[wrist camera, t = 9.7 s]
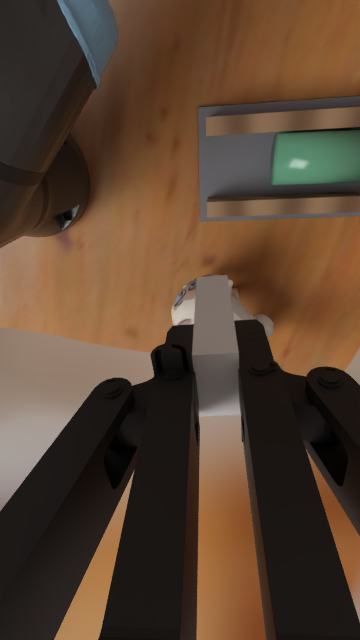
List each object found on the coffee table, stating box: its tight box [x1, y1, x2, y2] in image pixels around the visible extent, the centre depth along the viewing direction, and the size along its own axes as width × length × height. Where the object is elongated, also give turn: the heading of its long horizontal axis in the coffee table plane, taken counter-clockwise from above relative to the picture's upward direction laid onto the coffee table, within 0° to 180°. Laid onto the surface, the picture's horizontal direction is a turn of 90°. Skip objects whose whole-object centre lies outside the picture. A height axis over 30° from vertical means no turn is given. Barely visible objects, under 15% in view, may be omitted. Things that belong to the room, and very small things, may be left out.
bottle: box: [270, 129, 360, 185], centre depth 37 cm, size 5×5×15 cm
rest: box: [206, 107, 360, 217], centre depth 39 cm, size 20×11×4 cm, turn 93°
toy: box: [172, 274, 283, 370], centre depth 44 cm, size 9×19×15 cm, turn 46°
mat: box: [198, 96, 360, 221], centre depth 40 cm, size 22×13×1 cm, turn 93°
